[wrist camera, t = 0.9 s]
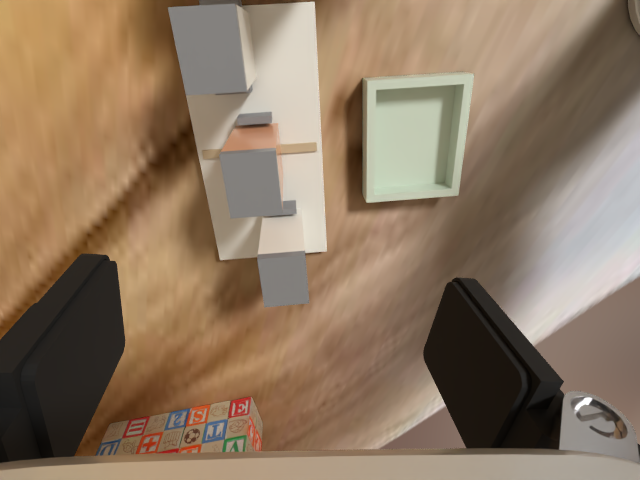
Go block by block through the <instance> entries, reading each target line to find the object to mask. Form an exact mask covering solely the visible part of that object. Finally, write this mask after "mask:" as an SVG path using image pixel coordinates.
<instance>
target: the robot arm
mask: <svg viewBox="0 0 640 480" xmlns="http://www.w3.org/2000/svg"><path fill="white" fill-rule="evenodd" d="M628 9H629V14H630V19H631V22H632V24H633V26H634V28H635V30H636V32H637V33H638V34H639V35H640V0H628ZM124 347H125V334H124V325H123V316H122V307H121V298H120V289H119V280H118V271H117V264H116V262H115V261H110V259H109V257H108V256H107V255H99V254H81V255H80V256H79V257H78V258H77V259H76V260H75V261H74V262H73V264H72V265H71V266H70V267H69V268H68V269H67V270H66V271H65V272H64V274H63V275H62V276H61V277H60V278H59V279H58V280H57V281H56V282H55V284H54V285H53V286H52V287H51V288H50V289H49V290H48V291H47V293H46V294H45V295H44V296H43V297H42V298H41V299H40V300H39V301H38V303H35V304H33V305H32V306H31V307H30V308H29V309H28V310H27V311H26V312H25V313H24V314H23V315H22V317H21V318H20V319H19V320H18V321H17V322H16V323H15V324H14V325H13V326H12V328H11V329H10V330H9V331H8V332H7V333H6V334H5V335H4V336H3V337H2V339H1V340H0V480H640V445H639V444H637V438H636V433H635V431H634V428H633V426H632V425H631V423H630V422H629V420H628V419H627V418H626V417H625V416H624V415H623V414H622V413H621V412H620V411H619V410H618V409H616V408H615V407H614V406H612V405H611V404H610V403H608V402H606V401H605V400H603V399H601V398H599V397H597V396H594V395H592V394H589V393H586V392H581V391H571V392H568V393H567V394H565V395H564V394H563V392H562V391H561V390H560V387H561V385H562V384H563V382H564V381H563V380H562V379H561V378H560V377H559V376H558V374H557V373H556V372H555V371H554V370H553V369H552V368H551V366H550V365H549V364H548V363H547V362H546V360H545V359H544V358H543V357H542V356H541V355H540V353H539V352H538V351H537V350H536V349H535V348H534V346H533V345H532V344H531V343H530V342H529V341H528V339H527V338H526V337H525V336H524V335H523V334H522V332H521V331H520V330H519V329H518V328H517V327H516V326H515V324H514V323H513V322H512V321H511V320H510V319H509V317H508V316H507V315H506V314H505V313H504V312H503V310H502V309H501V308H500V307H499V306H498V305H497V303H496V302H495V301H494V300H493V299H492V298H491V296H490V295H489V294H488V293H487V292H486V291H485V290H484V288H483V287H482V286H481V285H480V284H479V283H478V281H477V280H475V279H471V278H454V279H453V280H452V282H448V283H447V285H446V287H445V290H444V293H443V296H442V299H441V301H440V304H439V307H438V310H437V313H436V316H435V319H434V321H433V324H432V327H431V330H430V333H429V336H428V339H427V342H426V344H425V347H424V352H423V355H424V360H425V363H426V365H427V367H428V369H429V371H430V373H431V375H432V377H433V380H434V382H435V384H436V386H437V388H438V390H439V392H440V394H441V396H442V398H443V400H444V402H445V404H446V407H447V409H448V411H449V413H450V415H451V417H452V419H453V421H454V423H455V425H456V427H457V429H458V432H459V434H460V436H461V437H462V440H463V442H464V444H465V446H466V448H460V449H370V450H307V451H252V452H206V453H160V454H128V455H101V456H75V457H74V455H75V453H76V451H77V449H78V446H79V444H80V442H81V440H82V438H83V436H84V434H85V432H86V430H87V428H88V425H89V423H90V421H91V419H92V417H93V415H94V413H95V411H96V409H97V407H98V404H99V402H100V400H101V398H102V396H103V394H104V392H105V390H106V388H107V386H108V383H109V381H110V379H111V377H112V375H113V373H114V371H115V369H116V367H117V365H118V362H119V360H120V358H121V356H122V354H123V351H124Z"/></svg>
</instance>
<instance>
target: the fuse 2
mask: <svg viewBox="0 0 640 480" xmlns="http://www.w3.org/2000/svg"><path fill="white" fill-rule="evenodd" d="M296 210H297V214H289V215H277V216H263V218H262V226H261V234H260V241H259V249H258V257H257V262H258V268H259V275H260V281H261V288H262V294H263V301H264V307H273V306H284V305H295V304H306V303H309V294H308V282H307V270H306V257H305V246H304V234H303V223H302V211H301V208H300V209H296Z"/></svg>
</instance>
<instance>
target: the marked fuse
mask: <svg viewBox="0 0 640 480" xmlns="http://www.w3.org/2000/svg"><path fill="white" fill-rule="evenodd" d="M219 157H220V163H221V168H222V174H223V179H224V185H225V191H226V196H227V202H228V207H229V213H230V218H231V219H233V218H245V217H258V216H271V215H283V165H282V155H281V146H280V136H279V126H278V123H270V124H255V125H241V126H235V127H234V129H233V131H232V133H231V134H230V136H229V138H228V140H227V141H226V143H225V145H224V147H223V149H222V150H221V152H220V154H219Z"/></svg>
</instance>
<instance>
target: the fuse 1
mask: <svg viewBox="0 0 640 480" xmlns="http://www.w3.org/2000/svg"><path fill="white" fill-rule="evenodd" d="M168 10H169V15H170V20H171V25H172V30H173V35H174V39H175V44H176V49H177V54H178V59H179V64H180V68H181V73H182V78H183V83H184V88H185V92H186V96H187V95H203V94H218V93H233V92H247V91H248V89H249V88H250V86H251V85H252V84H253V82H254V81H255V79H256V78H257V75H256V67H255V58H254V50H253V42H252V34H251V25H250V17H249V12H248V11H246V10H244V9H243V8H241V7H240V6H238V5H236V4H217V5H199V6H181V7H168Z"/></svg>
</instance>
